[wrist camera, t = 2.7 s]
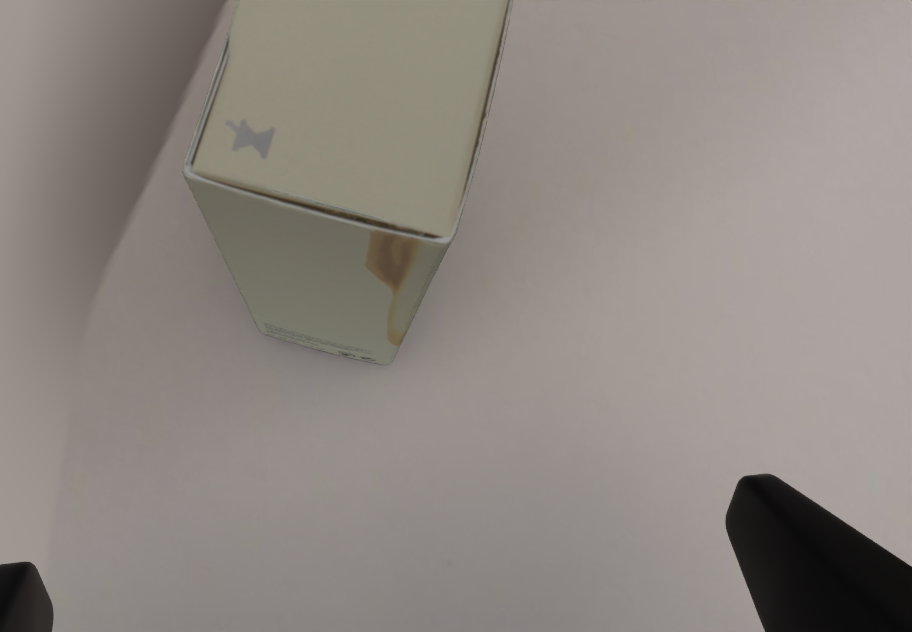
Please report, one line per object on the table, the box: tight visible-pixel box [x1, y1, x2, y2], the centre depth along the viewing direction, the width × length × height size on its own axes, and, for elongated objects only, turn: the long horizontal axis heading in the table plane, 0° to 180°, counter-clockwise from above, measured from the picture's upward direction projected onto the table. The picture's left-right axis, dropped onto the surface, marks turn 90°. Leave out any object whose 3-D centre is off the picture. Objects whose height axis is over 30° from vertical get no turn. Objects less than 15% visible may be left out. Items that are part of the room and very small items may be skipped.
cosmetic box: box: [182, 0, 513, 365], centre depth 17 cm, size 6×4×12 cm
